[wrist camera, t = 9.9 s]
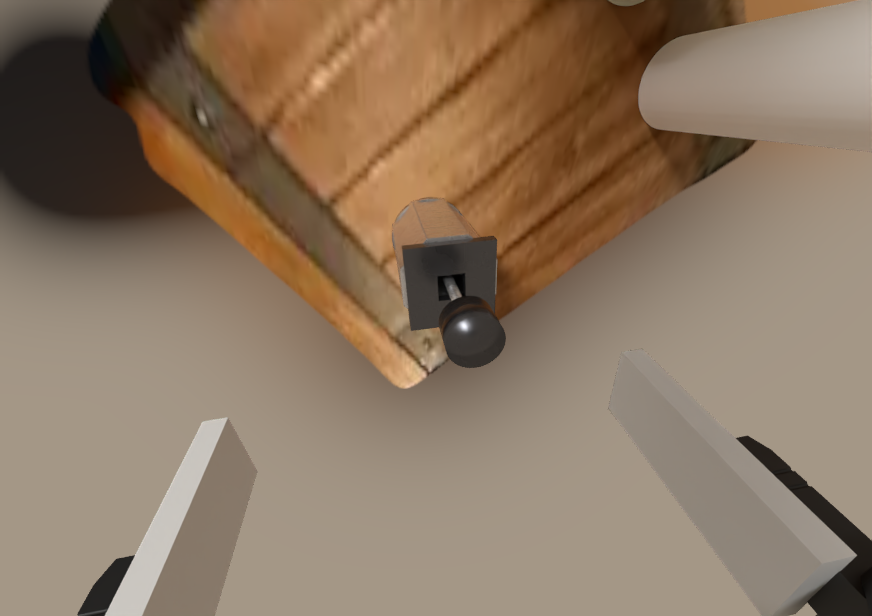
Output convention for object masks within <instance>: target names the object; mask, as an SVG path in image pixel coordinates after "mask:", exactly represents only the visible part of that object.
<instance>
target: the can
mask: <svg viewBox="0 0 872 616" xmlns="http://www.w3.org/2000/svg"><path fill="white" fill-rule="evenodd" d="M608 1H610V2H611V3H613V4H616V5H619V6H632V5H636V4H638V3H641V2H643V1H645V0H608Z"/></svg>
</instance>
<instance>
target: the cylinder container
mask: <svg viewBox="0 0 872 616" xmlns="http://www.w3.org/2000/svg"><path fill="white" fill-rule="evenodd" d="M638 104H639V110H640V113H641V115H642V117H643V119H644V120H645V122H646V123H647V124H648V125H650V126H651V127H653V128H655V129H659V130H668V131H677V132H686V133H696V134H705V135H715V136H724V137H733V138H743V139H752V140H762V141H771V142H781V143H790V144H799V145H809V146H818V147H827V148H837V149H846V150H856V151H865V152H872V0H858V1H853V2H848V3H843V4H838V5H834V6H828V7H823V8H819V9H813V10H809V11H804V12H799V13H794V14H789V15H784V16H779V17H774V18H769V19H764V20H759V21H755V22H749V23H744V24H739V25H734V26H729V27H724V28H719V29H714V30H710V31H705V32H700V33H695V34H690V35H685V36H681V37H678V38H675V39H673V40H672V41H670V42H668V43H667V44H666V45H664V46H663V47H662V48H661V49H660V50H659V51H658V52H657V53H656V54H655V55H654V57H653V58H652V59H651V61H650V62H649V64H648V65H647V67H646V69H645V71H644V74H643V76H642V79H641V82H640V86H639V92H638Z"/></svg>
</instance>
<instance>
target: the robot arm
mask: <svg viewBox="0 0 872 616" xmlns="http://www.w3.org/2000/svg"><path fill="white" fill-rule="evenodd" d="M608 409H609V410H610V411H611V413H612V414H613V415H614V417H615V418H616V419H617V421H618V422H619V423H620V425H621V426H622V427H623V429H624V430H625V432H626V433H627V434H628V436H629V437H630V438H631V440H632V441H633V442H634V444H635V445H636V447H637V448H638V449H639V450H640V452H641V453H642V454H643V456H644V457H645V459H646V460H647V461H648V463H649V464H650V465H651V467H652V468H653V470H654V471H655V472H656V473H657V475H658V476H659V478H660V479H661V480H662V482H663V483H664V484H665V486H666V487H667V488H668V490H669V491H670V492H671V494H672V495H673V496H674V498H675V499H676V501H677V502H678V503H679V505H680V506H681V507H682V509H683V510H684V511H685V513H686V514H687V515H688V517H689V518H690V520H691V521H692V522H693V523H694V525H695V526H696V528H697V529H698V530H699V532H700V533H701V534H702V536H703V537H704V538H705V540H706V541H707V542H708V544H709V545H710V547H711V548H712V549H713V551H714V552H715V553H716V555H717V556H718V557H719V559H720V560H721V561H722V563H723V564H724V566H725V567H726V568H727V569H728V571H729V572H730V574H731V575H732V576H733V578H734V579H735V580H736V582H737V583H738V584H739V586H740V587H741V589H742V590H743V591H744V593H745V594H746V595H747V597H748V598H749V599H750V601H751V602H752V603H753V605H754V606H755V607H756V609H757V610H758V611H759V613H760V614H761V615H762V616H788V615H793V614H796V613H797V612H798V611H799V610H800V609H801V608H802V607H803V606H804V605H805V604H806V603H807V602H808V603H809V605H810V606H811V607H812V608H813V609H814V610H815V612H816V613H817V615H816V616H872V541H871V540H870V539H869V538H868V537H867V536H866V535H865V534H863V533H862V532H861V531H860V530H859V529H858V528H857V527H856V526H855V525H854V524H853V523H851V522H850V521H849V520H848V519H847V518H846V517H845V516H844V515H843V514H842V513H840V512H839V511H838V510H837V509H836V508H835V507H834V506H833V505H832V504H830V503H829V502H828V501H827V500H826V499H825V498H824V497H823V496H822V495H821V494H819V493H818V492H817V491H816V490H815V489H814V488H813V487H810V486H808V484H807V482H806V481H805V480H804V479H803V478H802V477H801V476H799V475H798V474H797V473H796V472H795V471H792V470H791V468H790V466H788V465H787V464H786V463H785V462H784V461H783V460H782V459H781V458H780V457H778V456H777V455H776V454H775V453H774V452H773V451H772V450H771V449H769V448H767V447H765V446H764V445H762V444H760V443H759V442H757V441H755V440H754V439H752V438H750V437H749V436H744V437H739V438H735V437H734V436H733V435H732V434H731V433H730V432H729V431H727V430H726V429H725V428H724V427H723V426H722V425H721V424H720V423H719V422H718V421H717V420H716V419H715V418H714V417H713V416H712V415H711V414H710V413H709V412H708V411H707V410H706V409H705V408H704V407H702V406H701V405H700V404H699V403H698V402H697V401H696V400H695V399H694V398H693V397H692V396H691V395H690V394H689V393H688V392H687V391H686V390H685V389H684V388H683V387H682V386H681V385H680V384H679V383H678V382H677V381H676V380H674V379H673V378H672V377H671V376H670V375H669V374H668V373H667V372H666V371H665V370H664V369H663V368H662V367H661V366H660V365H659V364H658V363H657V362H656V361H655V360H654V359H653V358H652V357H650V356H649V355H648V354H647V353H646V352H645V351H644V350H643V349H636V350H630V351H624V352H622V353H621V356H620V360H619V364H618V369H617V373H616V377H615V382H614V386H613V390H612V394H611V399H610V403H609V407H608ZM256 474H257V470H256V468H255V466H254V464H253V462H252V460H251V459H250V457H249V455H248V453H247V451H246V449H245V448H244V446H243V444H242V442H241V440H240V439H239V437H238V435H237V433H236V431H235V429H234V427H233V426H232V424H231V422H230V420H229V418H221V419H215V420H209V421H203V422H202V424H201V426H200V428H199V430H198V432H197V434H196V436H195V438H194V440H193V442H192V444H191V446H190V448H189V450H188V452H187V454H186V456H185V458H184V460H183V462H182V464H181V466H180V468H179V470H178V471H177V473H176V475H175V478H174V479H173V481H172V484H171V485H170V487H169V489H168V492H167V493H166V496H165V497H164V499H163V501H162V503H161V505H160V507H159V509H158V511H157V513H156V515H155V517H154V519H153V521H152V523H151V525H150V527H149V529H148V531H147V533H146V535H145V537H144V539H143V541H142V543H141V545H140V547H139V549H138V551H137V553H136V555H134V556H129V557H124V558H119V559H116V560H115V561H114V562H113V563H112V564H111V566H110V567H109V568H108V569H107V570H106V571H105V572H104V574H103V575H102V576H101V577H100V578H99V579H98V581H97V582H96V583H95V584H94V586H93V587H92V589H91V591H90V592H89V594H88V596H87V598H86V600H85V601H84V603H83V605H82V607H81V609H80V611H79V612H78V616H215V613H216V610H217V606H218V603H219V599H220V596H221V593H222V589H223V586H224V583H225V579H226V576H227V572H228V569H229V566H230V562H231V559H232V556H233V552H234V549H235V545H236V542H237V538H238V535H239V532H240V528H241V525H242V522H243V518H244V515H245V511H246V508H247V505H248V501H249V498H250V495H251V491H252V488H253V485H254V481H255V478H256Z"/></svg>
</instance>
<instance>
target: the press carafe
mask: <svg viewBox="0 0 872 616" xmlns="http://www.w3.org/2000/svg"><path fill="white" fill-rule="evenodd" d="M392 228H393V230H392V241H393V246H394V249H395V253H396V260H397V266H398V272H399V279H400V285H401V291H402V298H403V304H404V306H405V307H406V308H408V311H409V320H410V328H411V331H413V330H421V329H429V328H436V327H439V317H440V314H441V312H442V310H443V308H444V307H445V306H446V305H447V304H448V303H449V302H451V298H450V296H449V293H448V291H447V288H446V286H445V283H444V281H443V278H442V276H444V275H452V276H453V278H454V280H455V282H456V285H457V287H458V289H459V291H460V293H461V295H462V296H477V297H480V298H482V299H483V300H485V301H486V302H487V303H488V304H489V305H490V307H491V309H492V310H493V312H494V314H495V294H496V282H497V258H496V255H497V239H496V238H495V237H494V236H488V237H479V235H478V234H477V233H476V232H475V230H474V229H473V228H472V226H471V225H470V224H469V223H468V221H467V220H466V219H465V218H464V217H463V216H462V214H461V213H460V212H459V210H458V209H457V208H456V207H455V206H453V205H452V204H451V203H449V202H447V201H446V200H444V199H443V198H422V199H419V200H415V201H411V202H410V204H409V205H407V206H406V207H405V208H404V209H403V210H402V211H401V212H400V213H399V215H398V216H397V218H396V220H395V222H394V223H393V224H392Z"/></svg>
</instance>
